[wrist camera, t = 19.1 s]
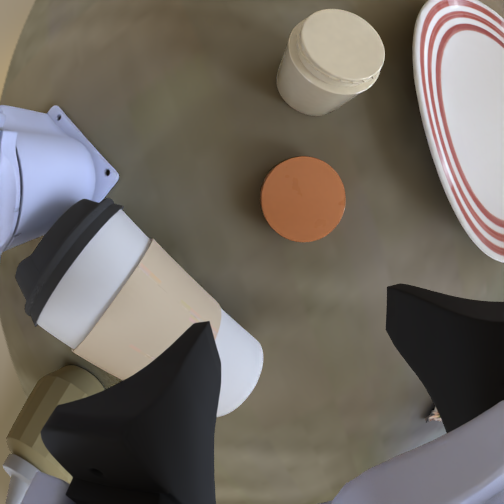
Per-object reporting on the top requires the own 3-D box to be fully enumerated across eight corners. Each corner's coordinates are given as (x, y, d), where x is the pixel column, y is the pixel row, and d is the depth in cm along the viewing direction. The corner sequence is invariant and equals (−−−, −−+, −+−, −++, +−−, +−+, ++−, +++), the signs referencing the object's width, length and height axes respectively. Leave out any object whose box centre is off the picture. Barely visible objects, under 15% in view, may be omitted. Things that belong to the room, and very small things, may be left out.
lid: (343, 229, 20) (351, 234, 19) (269, 245, 21) (271, 251, 19) (330, 151, 19) (337, 150, 17) (252, 166, 19) (252, 165, 17)
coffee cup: (200, 345, 25) (66, 237, 19) (278, 305, 21) (116, 156, 15) (176, 436, 18) (-1, 318, 12) (271, 421, 13) (11, 239, 8)
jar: (260, 79, 17) (269, 32, 10) (310, 41, 17) (338, -10, 9) (312, 130, 19) (349, 107, 11) (359, 89, 18) (409, 57, 11)
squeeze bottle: (81, 414, 25) (25, 526, 8) (41, 360, 23) (-43, 469, 6) (131, 409, 25) (79, 552, 7) (88, 349, 23) (-9, 492, 5)
